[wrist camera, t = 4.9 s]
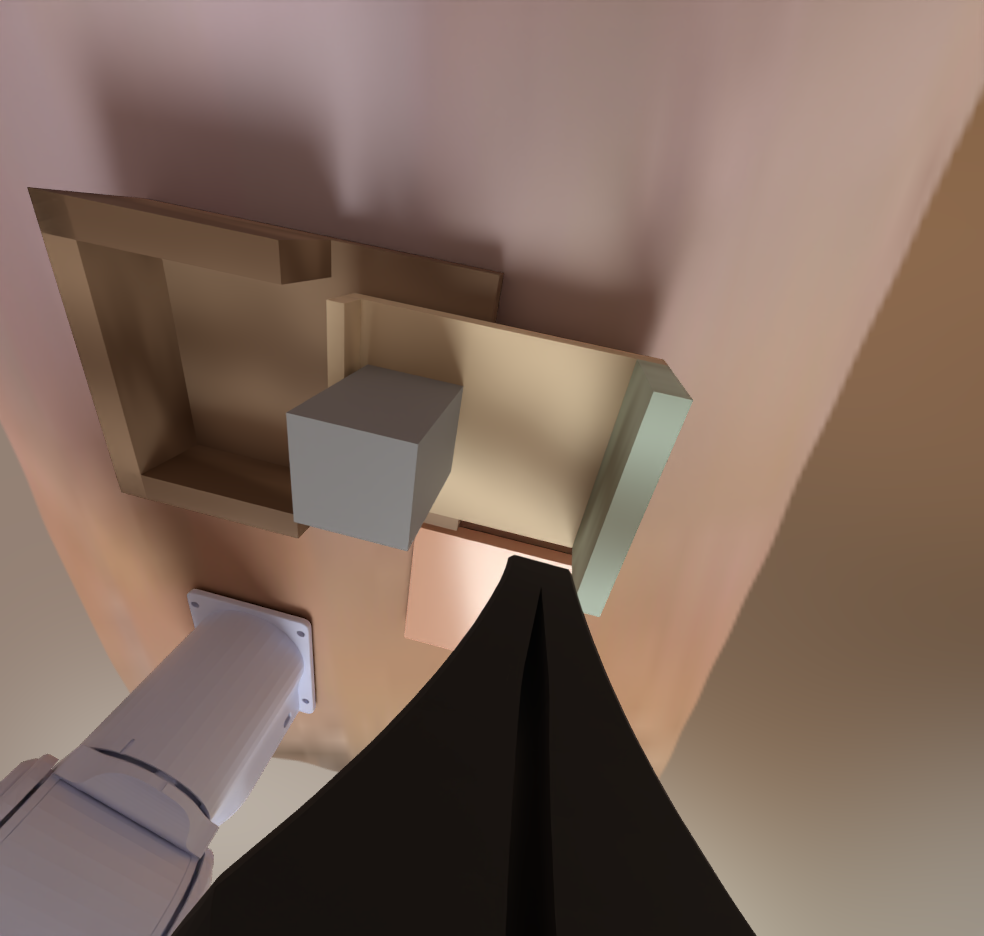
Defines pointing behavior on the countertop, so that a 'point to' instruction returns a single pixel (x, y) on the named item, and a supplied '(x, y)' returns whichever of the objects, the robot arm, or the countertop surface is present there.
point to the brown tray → (218, 339)
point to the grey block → (373, 454)
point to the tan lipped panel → (531, 425)
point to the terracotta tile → (459, 579)
